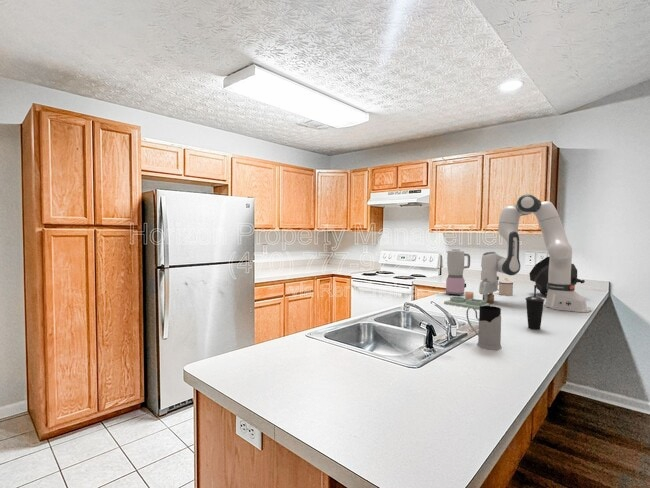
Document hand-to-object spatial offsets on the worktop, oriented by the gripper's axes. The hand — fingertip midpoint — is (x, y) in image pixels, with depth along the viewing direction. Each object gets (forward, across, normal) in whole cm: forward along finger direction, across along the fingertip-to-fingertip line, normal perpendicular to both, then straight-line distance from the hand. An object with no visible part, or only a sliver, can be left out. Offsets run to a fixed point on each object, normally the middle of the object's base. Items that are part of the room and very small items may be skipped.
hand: (488, 299), depth 222 cm
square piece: (+2, 0, 0) cm, 2 cm away
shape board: (+2, -17, +6) cm, 18 cm away
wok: (+2, +56, -24) cm, 61 cm away
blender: (+2, +13, +26) cm, 29 cm away
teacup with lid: (+2, +38, +4) cm, 38 cm away
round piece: (+2, 0, +12) cm, 12 cm away
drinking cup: (+2, -45, -38) cm, 59 cm away
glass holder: (+2, -86, -31) cm, 91 cm away
